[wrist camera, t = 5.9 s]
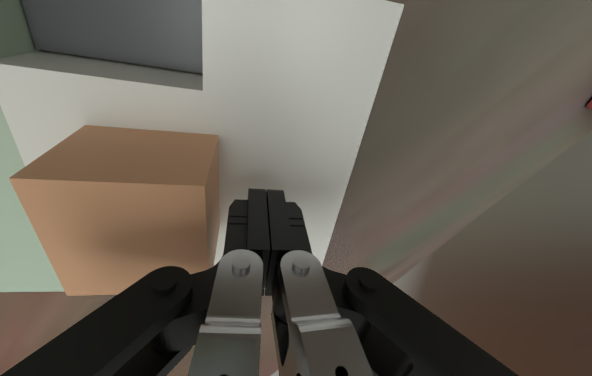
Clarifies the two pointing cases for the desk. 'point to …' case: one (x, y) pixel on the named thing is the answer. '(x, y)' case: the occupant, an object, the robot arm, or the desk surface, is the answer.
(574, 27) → the desk surface
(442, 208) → the desk surface
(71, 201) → the block
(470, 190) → the desk surface
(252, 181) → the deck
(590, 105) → the ink cartridge box
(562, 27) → the desk surface
